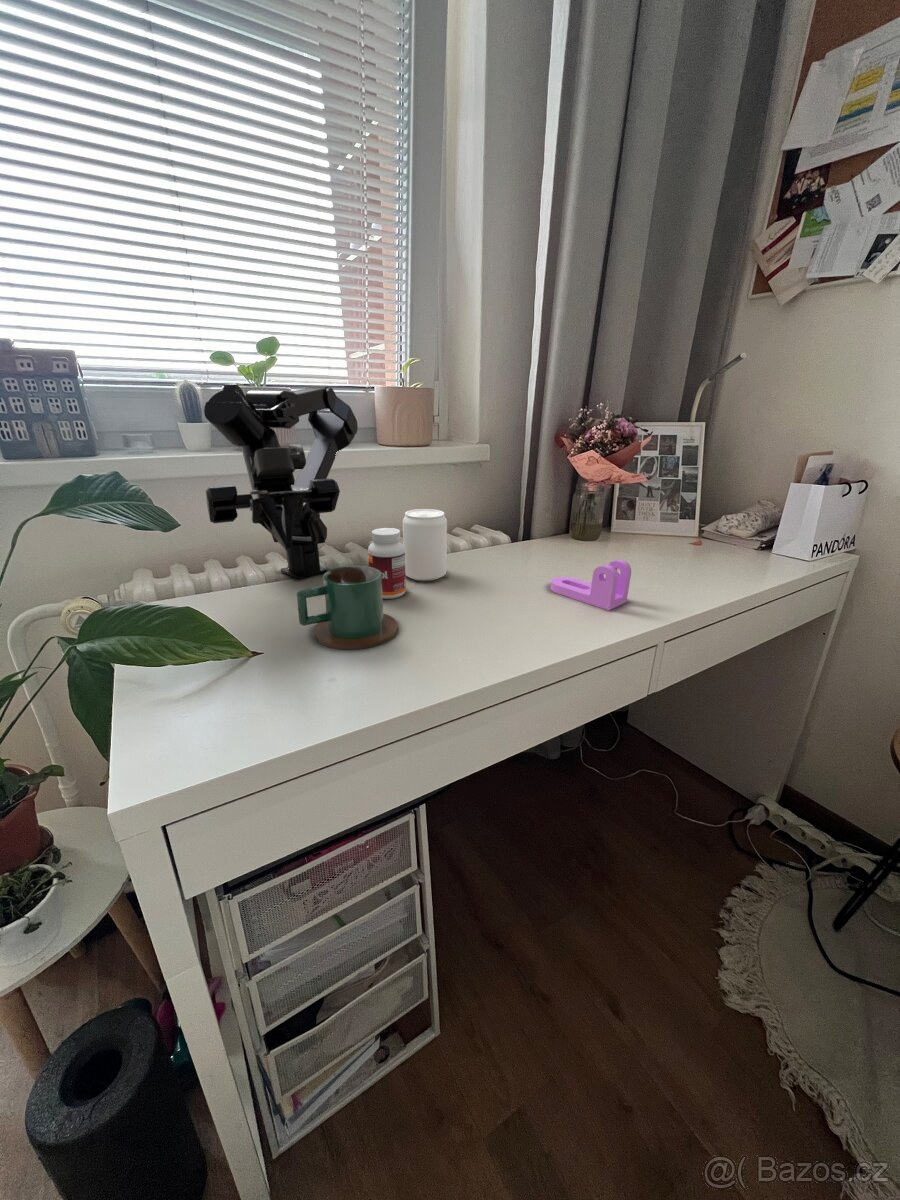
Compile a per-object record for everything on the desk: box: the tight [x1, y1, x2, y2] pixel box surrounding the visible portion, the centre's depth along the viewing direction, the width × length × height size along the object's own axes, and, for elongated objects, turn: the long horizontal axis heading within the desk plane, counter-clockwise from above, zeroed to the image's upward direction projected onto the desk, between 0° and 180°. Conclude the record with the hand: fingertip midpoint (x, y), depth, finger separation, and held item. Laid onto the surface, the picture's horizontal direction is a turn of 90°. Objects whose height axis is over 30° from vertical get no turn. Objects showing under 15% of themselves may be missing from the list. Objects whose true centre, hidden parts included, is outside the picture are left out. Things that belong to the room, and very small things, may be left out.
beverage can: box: [402, 508, 448, 582], centre depth 94 cm, size 8×8×12 cm
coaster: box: [313, 612, 399, 651], centre depth 73 cm, size 12×12×1 cm
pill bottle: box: [367, 527, 407, 600], centre depth 85 cm, size 6×6×11 cm
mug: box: [295, 565, 384, 639], centre depth 71 cm, size 12×8×8 cm
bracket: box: [550, 559, 632, 611], centre depth 86 cm, size 13×6×7 cm, turn 43°
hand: (288, 548), depth 74 cm, fingers closed
